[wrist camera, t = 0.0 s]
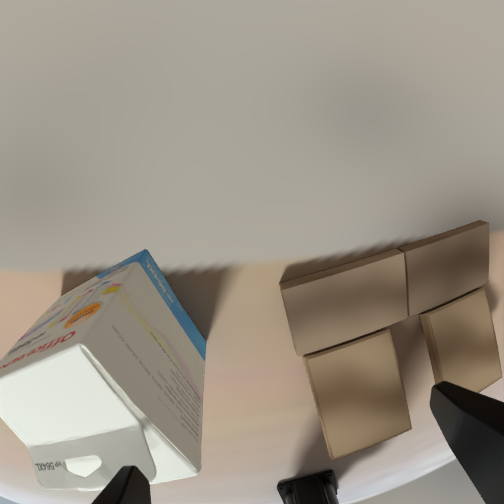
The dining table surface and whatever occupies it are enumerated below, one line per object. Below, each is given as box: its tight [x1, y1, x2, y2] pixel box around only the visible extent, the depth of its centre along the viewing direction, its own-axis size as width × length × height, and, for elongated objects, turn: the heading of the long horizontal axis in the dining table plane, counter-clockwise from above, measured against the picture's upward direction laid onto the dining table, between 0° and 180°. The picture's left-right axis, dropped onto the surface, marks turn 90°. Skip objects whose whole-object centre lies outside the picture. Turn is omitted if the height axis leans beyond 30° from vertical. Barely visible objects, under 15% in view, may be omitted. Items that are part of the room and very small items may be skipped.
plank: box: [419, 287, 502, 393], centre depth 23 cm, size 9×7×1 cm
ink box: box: [0, 249, 206, 491], centre depth 16 cm, size 9×8×13 cm
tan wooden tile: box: [279, 220, 489, 356], centre depth 23 cm, size 6×18×1 cm, turn 104°
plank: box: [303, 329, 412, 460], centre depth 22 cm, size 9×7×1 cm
